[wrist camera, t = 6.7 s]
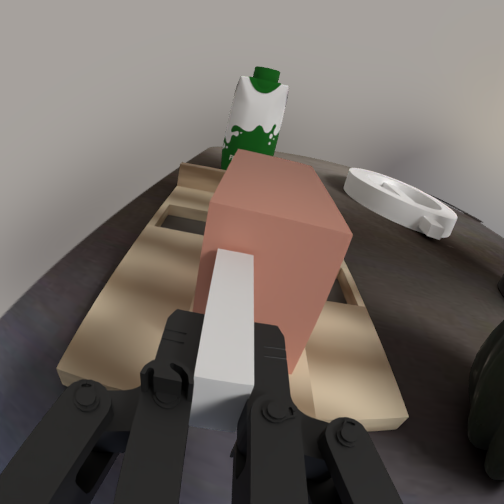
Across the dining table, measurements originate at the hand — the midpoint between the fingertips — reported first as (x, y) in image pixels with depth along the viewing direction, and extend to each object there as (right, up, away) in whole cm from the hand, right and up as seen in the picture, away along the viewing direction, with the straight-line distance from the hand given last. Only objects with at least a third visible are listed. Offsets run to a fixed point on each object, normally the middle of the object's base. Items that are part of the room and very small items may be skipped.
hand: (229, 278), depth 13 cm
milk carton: (-1, +14, +40) cm, 43 cm away
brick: (+1, -2, +9) cm, 9 cm away
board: (0, 0, +15) cm, 15 cm away
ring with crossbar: (+35, +11, +53) cm, 64 cm away
